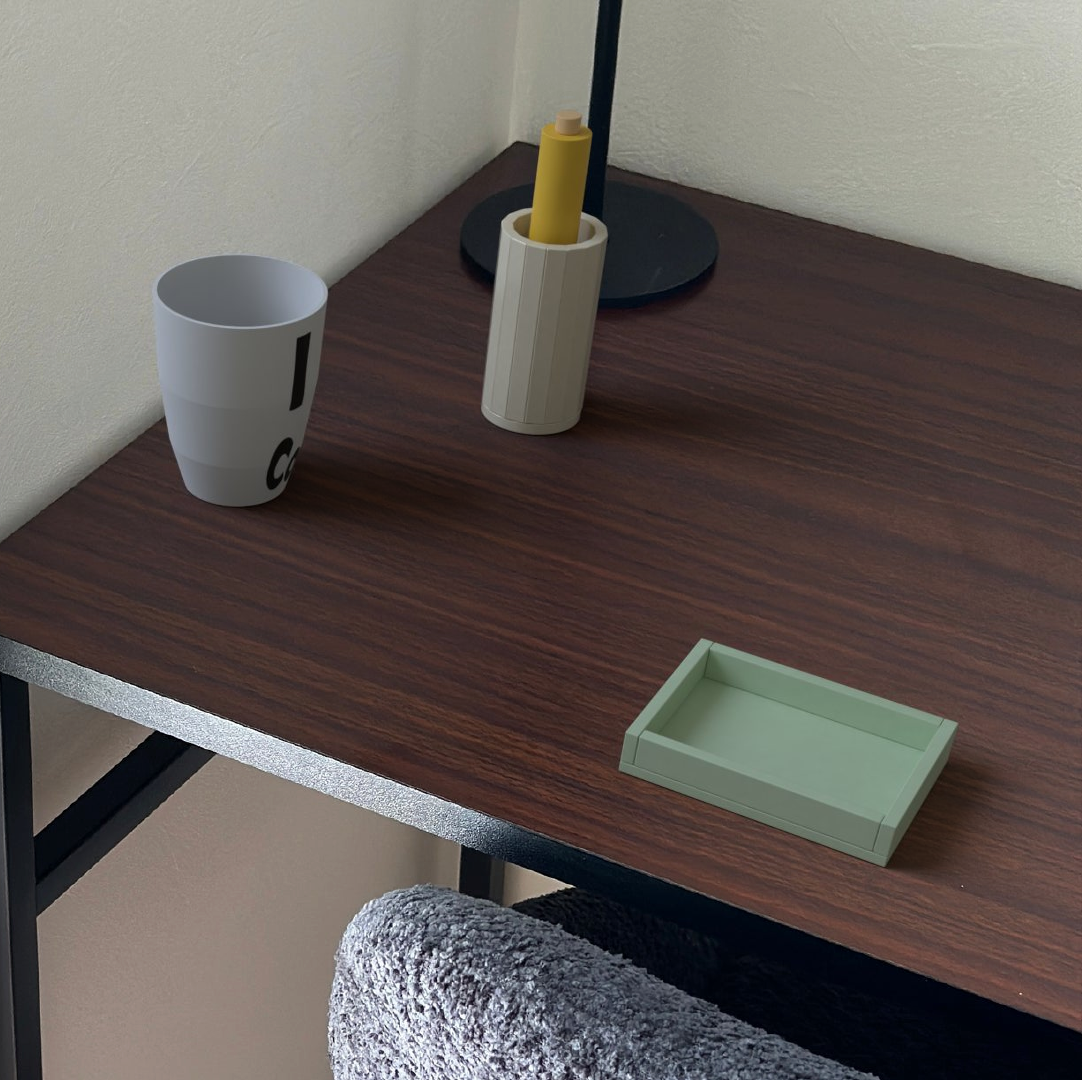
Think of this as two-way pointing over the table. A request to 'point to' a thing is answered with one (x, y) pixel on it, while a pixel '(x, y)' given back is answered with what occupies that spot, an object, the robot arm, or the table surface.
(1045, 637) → the table surface
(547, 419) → the pencil holder
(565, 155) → the pencil
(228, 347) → the cup
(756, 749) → the tray
